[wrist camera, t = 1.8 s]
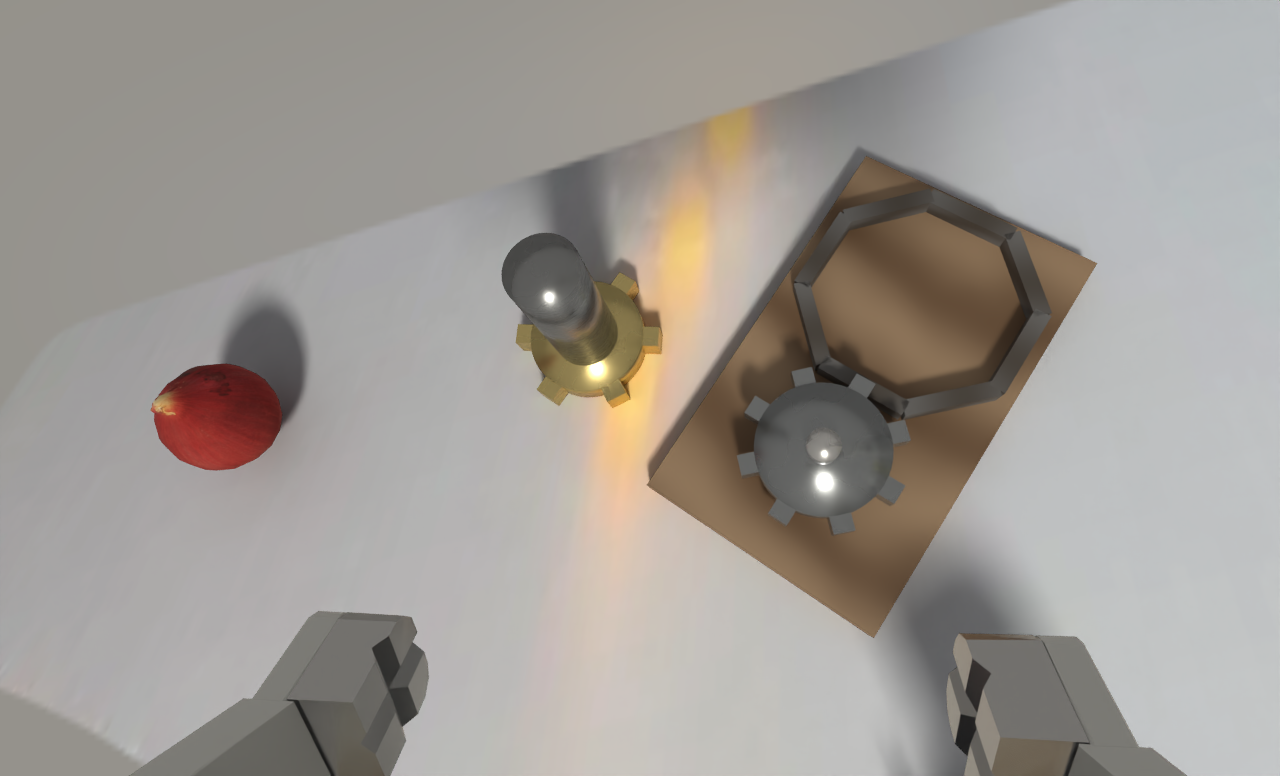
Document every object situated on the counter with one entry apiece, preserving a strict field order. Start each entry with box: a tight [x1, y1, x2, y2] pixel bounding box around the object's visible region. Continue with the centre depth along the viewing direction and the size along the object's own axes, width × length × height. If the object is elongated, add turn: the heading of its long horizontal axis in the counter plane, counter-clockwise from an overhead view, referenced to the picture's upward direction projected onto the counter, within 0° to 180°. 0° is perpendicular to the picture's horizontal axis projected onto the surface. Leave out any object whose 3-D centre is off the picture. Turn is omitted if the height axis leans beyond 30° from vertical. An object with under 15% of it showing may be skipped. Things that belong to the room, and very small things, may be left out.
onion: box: [151, 364, 282, 470], centre depth 38 cm, size 6×6×8 cm
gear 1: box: [502, 233, 663, 408], centre depth 36 cm, size 8×8×10 cm
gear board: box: [647, 156, 1097, 638], centre depth 36 cm, size 22×13×2 cm, turn 145°
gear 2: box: [737, 367, 911, 536], centre depth 34 cm, size 8×8×3 cm
